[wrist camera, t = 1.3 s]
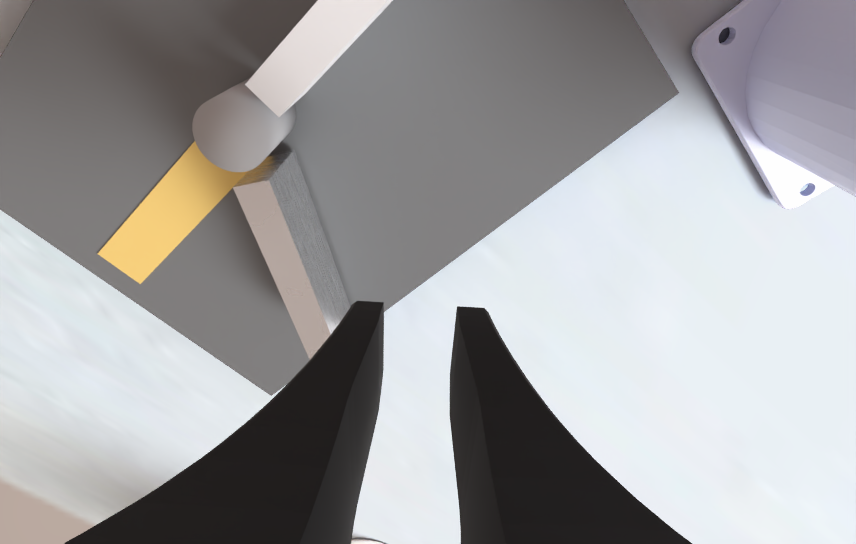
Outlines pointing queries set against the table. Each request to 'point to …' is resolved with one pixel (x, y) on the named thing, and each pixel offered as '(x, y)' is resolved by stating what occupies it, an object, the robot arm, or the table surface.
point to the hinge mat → (301, 139)
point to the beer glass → (364, 541)
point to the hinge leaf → (294, 246)
